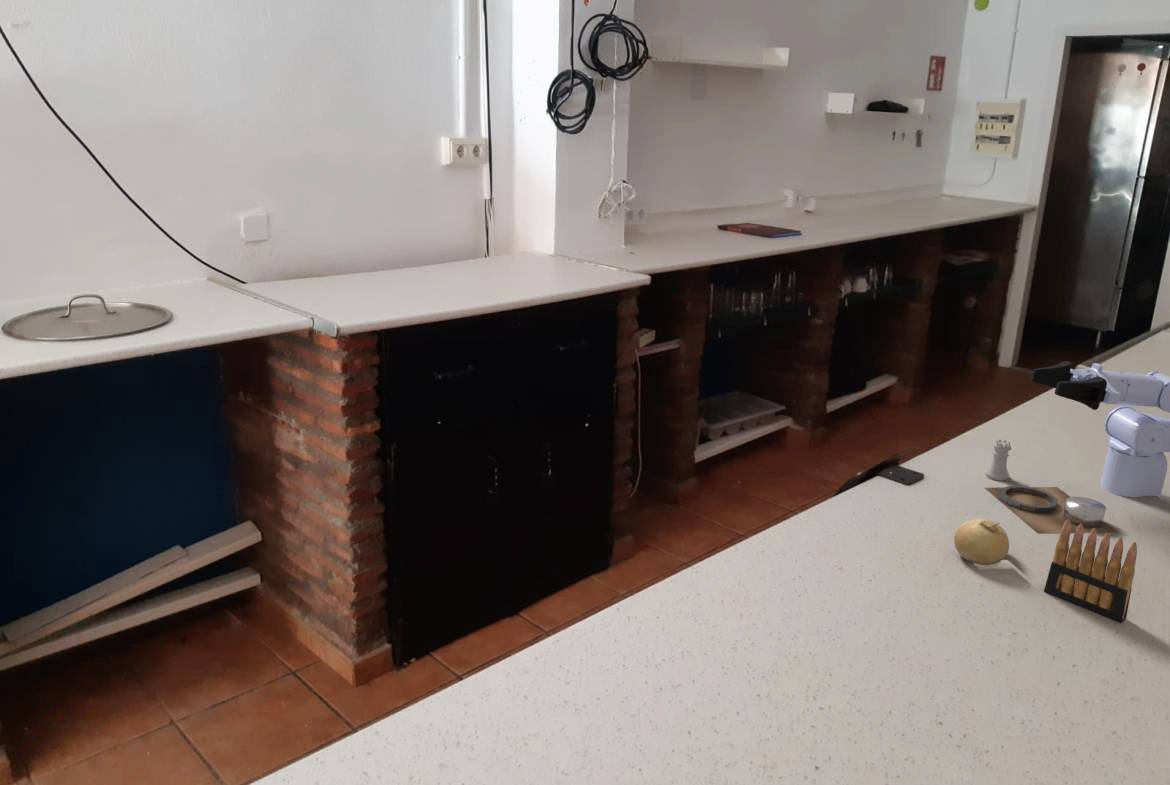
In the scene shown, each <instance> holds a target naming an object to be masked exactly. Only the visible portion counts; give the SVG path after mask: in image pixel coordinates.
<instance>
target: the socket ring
mask: <svg viewBox="0 0 1170 785" xmlns="http://www.w3.org/2000/svg"><path fill="white" fill-rule="evenodd" d="M1032 487H1033V486H1025V485H1008V486H1007V485H1006V486H1004V488H1002V489H1001V493H1000V499H1001V500H1002V501H1003V502H1004V503H1005V504H1007V505H1009V506H1011V507H1014V508H1016V509H1019V510H1022V511H1028V512H1033V513H1049V512H1052V511H1054V510H1056V509H1057V498H1055V497H1054V496H1053V495H1051V494H1050V493H1048V492H1045V491H1042V490H1040V489H1036V488H1032ZM1009 493H1027V494H1033V495H1036V496H1039V497H1041V498H1044V499H1046V500H1047V501H1048V502H1050V503H1051V504H1049V505H1046V506H1034V505H1029V504H1024V503H1020V502H1018V501H1015V500H1013V499H1011V498H1010V497H1008V496H1007V494H1009Z"/></svg>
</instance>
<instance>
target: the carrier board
mask: <svg viewBox="0 0 1170 785" xmlns="http://www.w3.org/2000/svg"><path fill="white" fill-rule="evenodd" d="M1004 487H1005V486H1004ZM1004 487H1003V486H1002V487H984V489H985V490H986V491H987V492H988V493H990V494H991V495H992V496H993V497H994V498H995V499H997V500H998V501H999V502H1000V503H1001V504H1003V506H1005V507H1006V508H1007V509H1008V510H1010V511H1011V512H1012V513H1013V515H1015V516H1016V517H1018V519H1020V520H1021V521H1022V522H1024V523H1025V524H1026V525H1027V526H1029V528H1031V530H1033V531H1034V532H1035V533H1037V534H1040V535H1041V534H1045V535H1046V534H1061V530H1062V527H1063V525H1064V523H1065V522H1066V520H1065V519H1064V518H1063V513H1064V508H1065V504H1066V499H1067V498H1069V497H1071V496H1070V495H1069V494H1067V493H1066V492H1065V491H1063V489H1061V488H1059V487H1058V486H1031V487H1032V488H1036V489H1040V490H1042V491H1045V492H1048V493H1050V494H1051V495H1053V496H1054V497H1055V498H1057V509H1056V510H1054V511H1052V512H1049V513H1033V512H1028V511H1022V510H1019V509H1016V508H1014V507H1011V506H1009V505H1007V504H1005V503H1004V502H1003V501H1002V500H1001V499H1000V493H1001V489H1002V488H1004ZM1007 496H1008V497H1010V498H1011V499H1013V500H1015V501H1018V502H1020V503H1024V504H1029V505H1034V506H1046V505H1049V504H1051V503H1050V502H1048V501H1047V500H1046V499H1044V498H1041V497H1039V496H1036V495H1033V494H1027V493H1009V494H1007ZM1070 525H1071V530H1070V534H1075V532H1076V529H1077V528H1078V526H1076V525H1073V524H1071V523H1070ZM1092 529H1093V528H1084V527H1083V530H1084V534H1090V532H1091V531H1092ZM1095 529H1096V532H1097V534H1104V533H1105V534H1106V533H1109V534H1110V533H1112V534H1113V533H1115V534H1117V533H1119V531H1117V530H1116V529H1115V528H1113V527H1112V526H1111V525H1110V524H1108V523H1107V522H1105V521H1104V520H1103V524H1102V526H1101V527H1099V528H1095Z"/></svg>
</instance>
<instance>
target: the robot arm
mask: <svg viewBox="0 0 1170 785" xmlns="http://www.w3.org/2000/svg"><path fill="white" fill-rule="evenodd" d="M1072 366H1073V362H1070V361H1068V360H1065V361H1064V360H1063V361H1061V362H1059V363H1057V364H1054V365H1051V366H1046V367H1039V368H1034V369H1033V370H1032V372H1031V376H1030V381H1032V382H1033V383H1036V384H1039V385H1044V386H1048V387H1051V388H1054V389H1055V390H1054V394H1055V395H1056V396H1059V397H1061V398H1065V399H1068V400H1072V401H1074V402H1077V403H1080V404H1083V405H1085V406H1086V407H1088V408H1090V409H1091V410H1094V411H1097V410H1098V409H1099V407H1100V405H1101V404H1106V405H1119V406H1117V407H1115V408H1114V409H1112V410H1110V412H1109V413H1108V414H1107V416H1106V418H1105V420H1104V424H1103V427H1104V431H1105V433H1106V434H1107V435H1108V439H1107V442H1108V444H1109V445H1108V447H1107V448H1108V449H1107V453H1106V457H1105V462H1104V466H1103V470H1102V475H1101V478H1100V479H1101V480H1100V483H1099V484H1100V485H1099V486H1100V487H1101V489H1103V490H1105V491H1106V492H1109V493H1110V494H1114V495H1117V496H1122V497H1126V498H1127V497H1128V498H1140V497H1147V496H1149V497H1151V496H1154V497H1155V496H1156V497H1158V498H1159V499H1161V500H1162V501H1164V498H1163V497H1161V495H1162V493H1163V487H1164V485H1165V480H1166V476H1167V472H1168V465H1169V464H1168V460H1167V459H1168V458H1167V457H1166V454H1165V453H1170V418H1169V417H1167V418H1165V417H1163V416H1158V415H1154V414H1151V413H1147V412H1140V411H1137V410H1136V409H1135V408H1133V407H1132V406H1135V407H1150V408H1152V407H1153V408H1155V407H1156V408H1158V409H1159V410H1162V411H1164V412H1166V413H1170V376H1169V375H1166V374H1164V373H1162V372H1161V373H1160V372H1159V371H1158V370H1157V371H1156V370H1155V371H1151V372H1148V373H1146V374H1143V373H1132V372H1122V371H1110V370H1103V365H1102V364H1100V363H1094V362H1092V365H1091V367H1090V368H1082V369H1081V368H1080V369H1079V368H1078V369H1074V368H1073V369H1072ZM1120 405H1121V406H1120Z"/></svg>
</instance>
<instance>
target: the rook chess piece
mask: <svg viewBox="0 0 1170 785" xmlns="http://www.w3.org/2000/svg"><path fill="white" fill-rule="evenodd" d="M992 447H993V449H994V451H993V452H992V454H993V455H992V460H991V462H990V464H989V466H987V468H986V469H985V471H984V475H985V476H986V477H987V478H989V479H991V480H995V481H1000V482H1001V481H1003V482H1004V481H1007V480H1008V479H1009V478H1010V473H1009V471H1008V468H1007V466H1008V465H1007V464H1008V458H1009V456H1010V455H1009V451H1010V450H1012V447H1011V442H1010V441H1007V440H1006V439H1003V441H1002V439H998V440H997V439H996V440H995V441H994V443H993V444H992Z"/></svg>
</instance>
